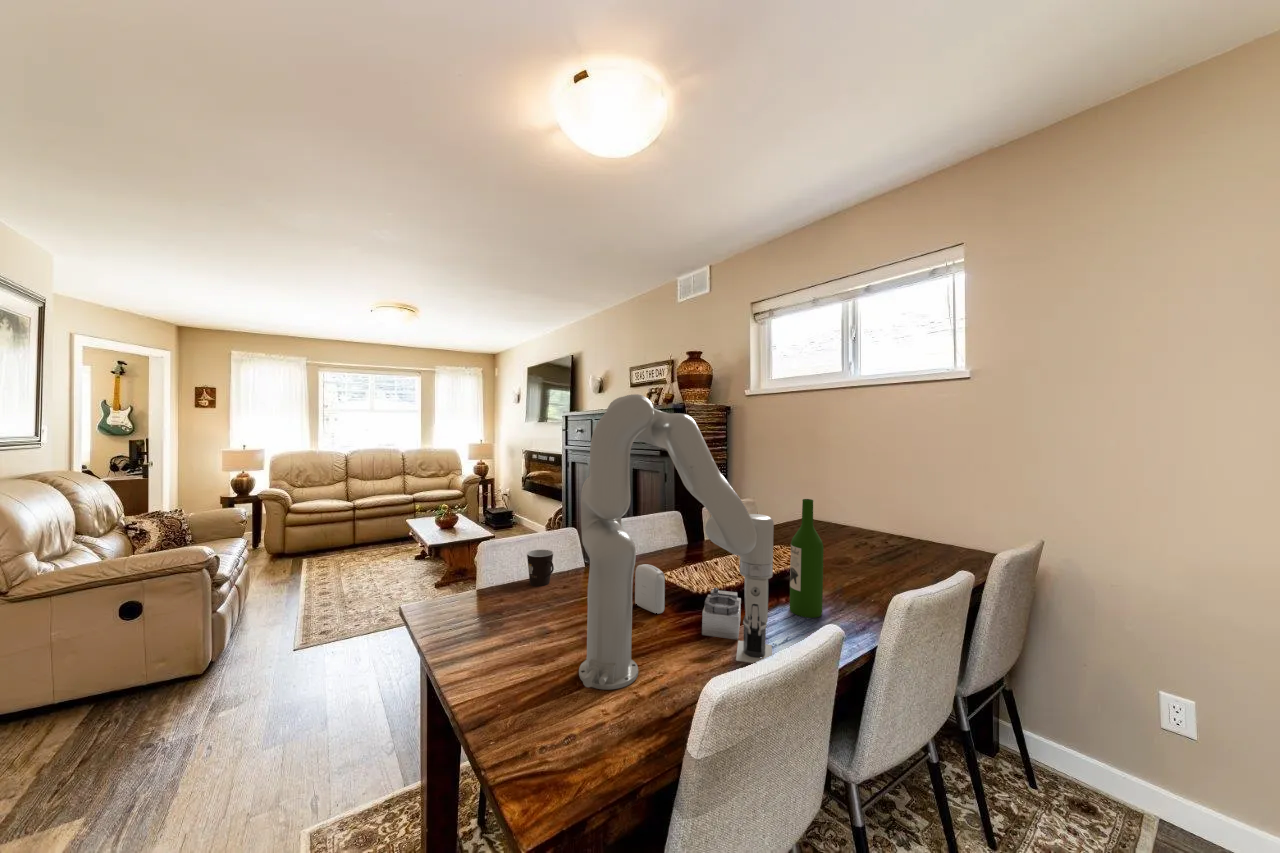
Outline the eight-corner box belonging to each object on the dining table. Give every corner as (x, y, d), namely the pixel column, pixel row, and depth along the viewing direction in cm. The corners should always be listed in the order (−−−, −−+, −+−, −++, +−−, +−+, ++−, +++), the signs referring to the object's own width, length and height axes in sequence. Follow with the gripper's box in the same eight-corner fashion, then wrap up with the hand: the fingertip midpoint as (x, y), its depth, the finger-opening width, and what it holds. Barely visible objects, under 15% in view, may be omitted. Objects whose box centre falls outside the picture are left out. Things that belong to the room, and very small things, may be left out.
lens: (765, 659, 105) (766, 623, 105) (742, 656, 106) (742, 620, 106) (765, 648, 110) (766, 614, 110) (743, 645, 111) (743, 611, 111)
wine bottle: (782, 607, 136) (785, 497, 136) (807, 604, 139) (809, 496, 139) (803, 619, 128) (806, 502, 128) (829, 615, 131) (831, 501, 131)
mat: (772, 667, 102) (772, 665, 102) (735, 661, 104) (736, 660, 104) (771, 646, 112) (771, 644, 112) (738, 642, 114) (738, 640, 114)
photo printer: (632, 604, 137) (633, 562, 137) (643, 600, 139) (644, 560, 139) (655, 615, 129) (656, 571, 129) (666, 612, 132) (667, 568, 131)
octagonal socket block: (738, 641, 114) (738, 607, 114) (701, 636, 117) (702, 603, 117) (740, 619, 127) (741, 589, 127) (707, 615, 129) (708, 586, 129)
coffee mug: (525, 579, 156) (526, 550, 156) (551, 577, 159) (551, 548, 159) (527, 591, 145) (528, 560, 145) (555, 589, 148) (556, 558, 148)
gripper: (773, 581, 99) (771, 666, 99) (771, 559, 115) (770, 631, 115) (737, 577, 101) (736, 660, 101) (741, 556, 117) (739, 628, 117)
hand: (754, 644), depth 108 cm, fingers closed on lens, 5 cm apart
